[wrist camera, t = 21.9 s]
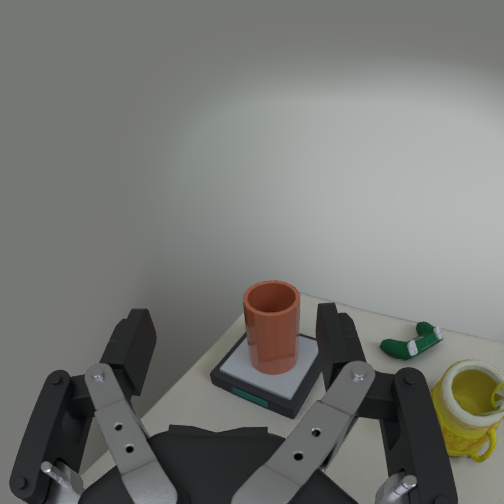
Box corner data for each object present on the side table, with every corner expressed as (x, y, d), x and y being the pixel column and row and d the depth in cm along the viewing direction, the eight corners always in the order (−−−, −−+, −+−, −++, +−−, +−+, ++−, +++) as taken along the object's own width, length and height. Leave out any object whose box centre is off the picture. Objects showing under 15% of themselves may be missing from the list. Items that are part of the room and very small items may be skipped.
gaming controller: (383, 365, 41) (407, 366, 36) (377, 341, 42) (401, 339, 37) (425, 342, 44) (450, 340, 38) (419, 320, 45) (444, 316, 39)
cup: (259, 381, 36) (254, 322, 31) (243, 347, 41) (236, 288, 36) (305, 365, 38) (309, 305, 33) (286, 334, 43) (285, 275, 38)
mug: (402, 405, 33) (432, 341, 27) (466, 383, 33) (501, 320, 27) (435, 488, 22) (488, 442, 16) (502, 453, 22) (556, 397, 16)
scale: (293, 420, 34) (294, 408, 32) (211, 384, 39) (208, 371, 38) (330, 354, 42) (332, 340, 41) (257, 330, 48) (256, 316, 47)
